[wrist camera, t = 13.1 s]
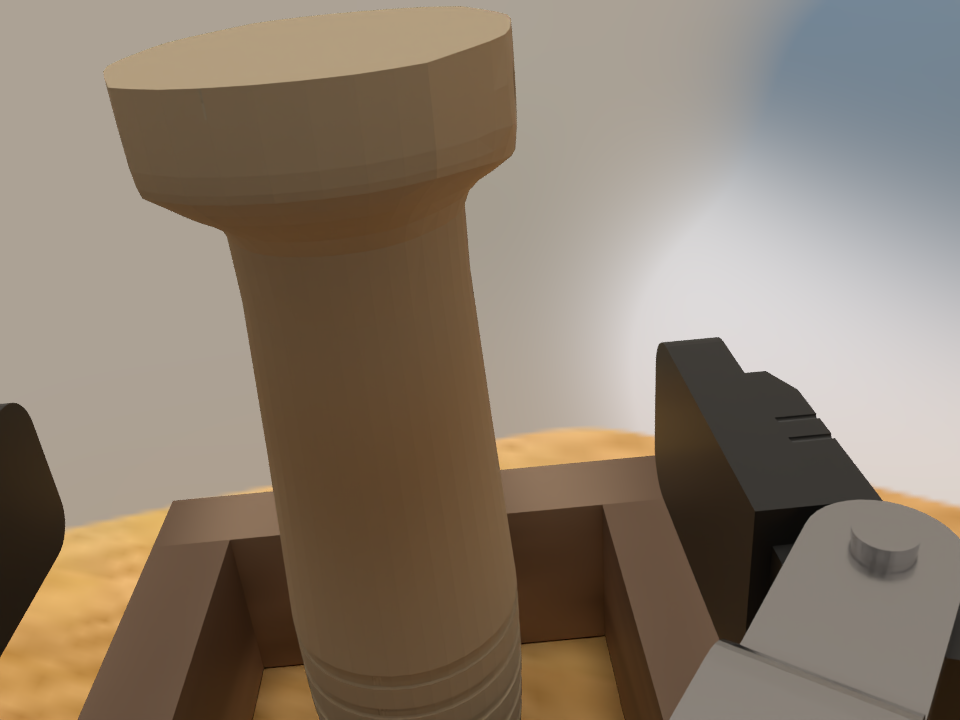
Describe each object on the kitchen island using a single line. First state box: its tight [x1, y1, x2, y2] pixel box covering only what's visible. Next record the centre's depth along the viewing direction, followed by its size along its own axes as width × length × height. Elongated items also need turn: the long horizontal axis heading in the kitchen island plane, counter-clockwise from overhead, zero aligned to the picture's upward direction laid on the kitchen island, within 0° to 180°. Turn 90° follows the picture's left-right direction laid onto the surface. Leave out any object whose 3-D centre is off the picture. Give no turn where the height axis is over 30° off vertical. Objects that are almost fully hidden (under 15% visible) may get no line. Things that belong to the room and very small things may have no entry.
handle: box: [103, 6, 522, 720], centre depth 15 cm, size 5×6×15 cm
